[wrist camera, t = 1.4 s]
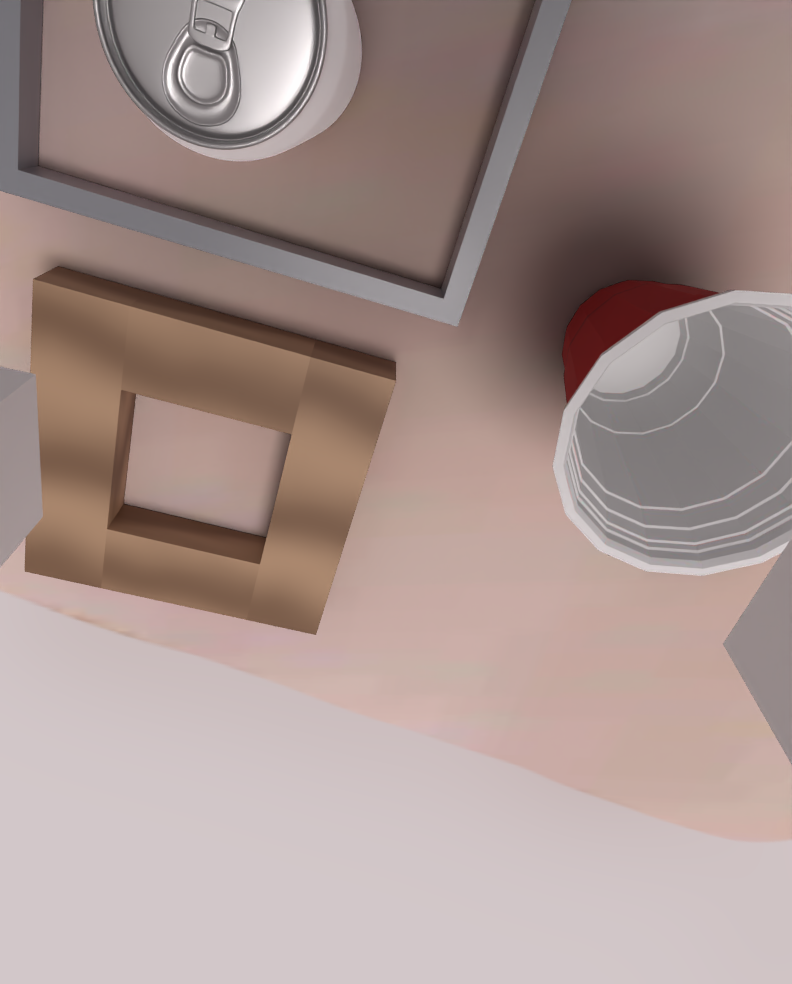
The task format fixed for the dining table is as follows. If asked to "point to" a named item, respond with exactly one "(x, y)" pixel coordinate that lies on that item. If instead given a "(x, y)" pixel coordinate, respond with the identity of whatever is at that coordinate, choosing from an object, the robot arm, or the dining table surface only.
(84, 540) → the frame
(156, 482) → the dining table surface
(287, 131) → the can
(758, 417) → the plastic cup
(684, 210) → the dining table surface
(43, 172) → the tray
